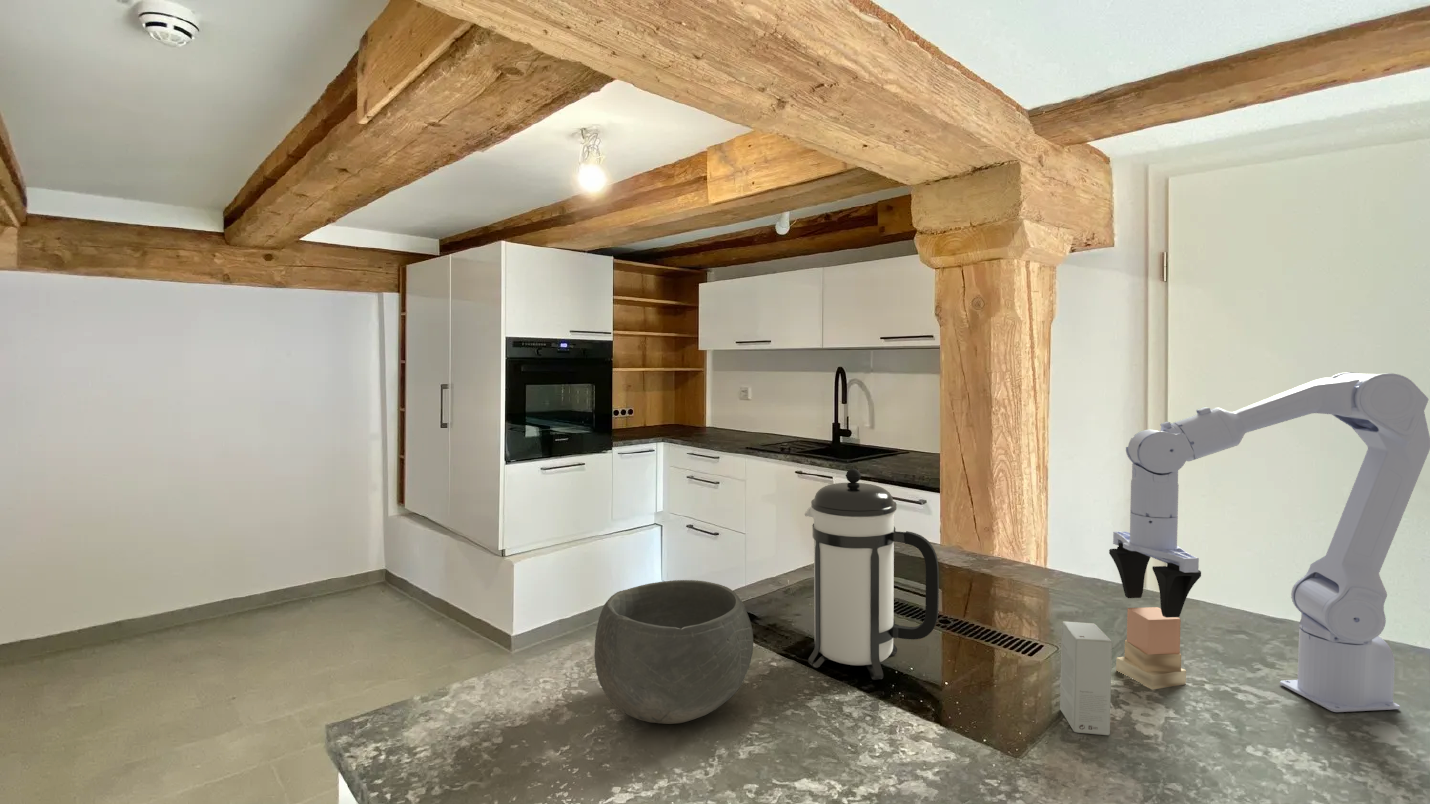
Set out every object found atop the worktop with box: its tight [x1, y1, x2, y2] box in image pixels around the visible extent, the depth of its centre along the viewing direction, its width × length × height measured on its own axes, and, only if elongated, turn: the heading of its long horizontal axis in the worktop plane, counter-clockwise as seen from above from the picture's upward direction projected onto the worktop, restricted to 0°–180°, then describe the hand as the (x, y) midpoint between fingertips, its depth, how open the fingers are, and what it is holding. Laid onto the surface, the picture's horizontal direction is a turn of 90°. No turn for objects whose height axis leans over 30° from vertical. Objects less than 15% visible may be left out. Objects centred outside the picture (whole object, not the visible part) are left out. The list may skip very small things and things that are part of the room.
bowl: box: [594, 579, 754, 725], centre depth 90 cm, size 21×21×15 cm
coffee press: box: [804, 468, 940, 681], centre depth 103 cm, size 17×16×30 cm
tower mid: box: [1124, 639, 1182, 672], centre depth 97 cm, size 5×5×2 cm
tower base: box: [1115, 655, 1187, 691], centre depth 97 cm, size 6×6×2 cm
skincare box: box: [1059, 620, 1113, 736], centre depth 85 cm, size 6×4×12 cm
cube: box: [1126, 606, 1182, 655], centre depth 97 cm, size 5×5×5 cm
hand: (1151, 606), depth 97 cm, fingers open, 7 cm apart
